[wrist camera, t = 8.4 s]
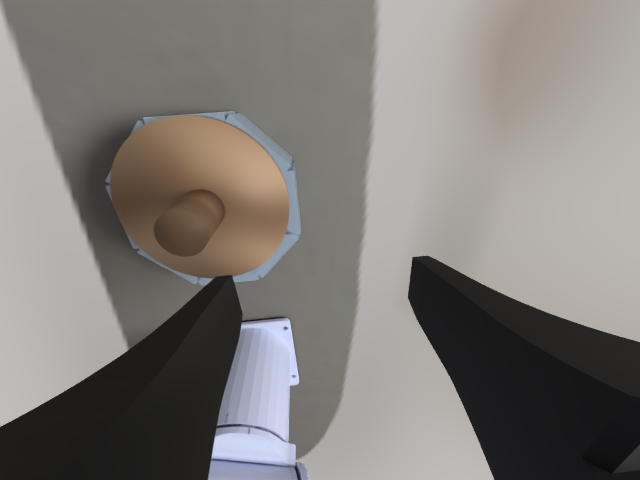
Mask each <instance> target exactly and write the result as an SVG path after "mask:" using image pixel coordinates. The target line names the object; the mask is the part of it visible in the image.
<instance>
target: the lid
mask: <svg viewBox="0 0 640 480" xmlns="http://www.w3.org/2000/svg"><path fill="white" fill-rule="evenodd" d="M110 191H111V197H112V202H113V206H114V209H115V211H116V214H117V216H118V218H119V220H120V222H121V224H122V226H123V228H124V229H125V231H126V232H127V234H128V235H129V236H130V237H131V239H132V240H133V241H134V242H135V243H136V244H137V245H138V246H139V247H140V248H141V249H142V250H143V251H144V252H145V253H147V254H148V255H149V256H150V257H152V258H153V259H155V260H156V261H158V262H159V263H161V264H163V265H165V266H167V267H169V268H171V269H173V270H175V271H178V272H180V273H183V274H187V275H191V276H195V277H201V278H212V279H214V278H215V277H216V276H225V275H232V276H233V277H234V276H238V275H242V274H244V273H247V272H249V271H251V270H253V269H255V268H257V267H259V266H260V265H262V264H263V263H264V262H266V261H267V260H268V259H269V258H270V257H271V256H272V255H273V254H274V253H275V251H276V250H277V249H278V247H279V245H280V244H281V242H282V240H283V238H284V235H285V233H286V230H287V226H288V220H289V195H288V190H287V186H286V183H285V180H284V177H283V175H282V173H281V171H280V169H279V167H278V165H277V164H276V162H275V160H274V159H273V158H272V156H271V155H270V154H269V153H268V151H267V150H266V149H265V148H264V147H263V146H262V145H261V144H260V143H259V142H258V141H257V140H255V139H254V138H253V137H252V136H250V135H249V134H248V133H246V132H244V131H243V130H241V129H239V128H238V127H236V126H234V125H231V124H229V123H227V122H225V121H222V120H218V119H215V118H211V117H205V116H199V115H181V116H173V117H166V118H162V119H159V120H155V121H153V122H150V123H148V124H146V125H144V126H142V127H141V128H139V129H138V130H137V131H135V132H134V133H132V134H131V135H130V136H129V137H128V138H127V139H126V140H125V142H124V143H123V145H122V146H121V147H120V149H119V150H118V152H117V155H116V157H115V159H114V162H113V165H112V169H111V176H110Z"/></svg>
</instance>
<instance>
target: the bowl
mask: <svg viewBox="0 0 640 480" xmlns="http://www.w3.org/2000/svg"><path fill="white" fill-rule="evenodd" d="M184 115H199V116H205V117H211V118H215V119H218V120H222V121H225V122H227V123H229V124H231V125H234V126H236V127H238V128H239V129H241V130H243V131H244V132H246V133H248V134H249V135H250V136H252V137H253V138H254V139H255V140H257V141H258V142H259V143H260V144H261V145H262V146H263V147H264V148H265V149H266V150H267V151H268V153H269V154H270V155H271V156H272V158H273V159H274V160H275V162H276V164H277V165H278V167H279V169H280V171H281V173H282V175H283V177H284V180H285V183H286V186H287V190H288V195H289V220H288V226H287V230H286V233H285V235H284V238H283V240H282V242H281V244H280V245H279V247H278V249H277V250H276V251H275V253H274V254H273V255H272V256H271V257H270V258H269V259H268V260H267V261H266V262H264V263H263V264H262V265H260V266H259V267H257V268H255V269H253V270H251V271H249V272H247V273H244V274H242V275H238V276H234V277H233V280H234V282H241V281H252V280H259V276H260V277H262V278H263V277H264V276H265V275H266V274H267V273H268V271H269V270H270V269H271V268H272V267H273V266H274V265H275V264H276V263H277V262H278V261H279V259H280V258H281V257H282V256H283V255H284V254H285V253H286V252H287V251H288V250H289V249H290V247H291V246H292V245H293V244H294V243H295V242H296V241H297V240H298V239H299V234H301V227H300V210H299V201H298V192H297V182H296V173H295V163H294V161H292V157H291V156H290V155H289V154H288V153H287V152H286V151H284V150H283V149H282V148H281V147H280V146H279V145H277V144H276V143H275V142H274V141H273V140H272V139H270V138H269V137H268V136H267V135H266V134H265V133H263V132H262V131H261V130H260V129H259V128H258V127H256V126H255V125H254V124H253V123H252V122H251V121H249V120H248V119H247V118H246V117H245V116H244V115H242V114H241V113H235V111H226V112H212V113H198V114H184ZM173 116H181V115H170V116H157V117H144V118H143V120H139V121H137V123H136V125H135V127H134V128H133V130H132V132H131V134H132V133H134V132H135V131H137V130H138V129H139V128H141V127H142V126H144V125H146V124H148V123H150V122H153V121H155V120H159V119H162V118H166V117H173ZM131 134H130V135H131ZM110 176H111V171H110V172H109V174H108V176H107V178H106V180H105V181H106V182H107V183H109V185H107V186H105V187H106V190H107V192H108V194H109V196H110V198H111V201H112V197H111V191H110ZM112 203H113V202H112ZM125 232H126V231H125ZM126 234H127V232H126ZM127 236H128V238H129V241H130V243H131V245H132V247H133V249H139V248H140V247H139V246H138V245H137V244H136V243H135V242H134V241H133V240H132V239H131V237H130V236H129V235H128V234H127ZM137 253H138V254H140V255H142V256H144V257H146V258H147V259H149V260H151V261H153V262H155V263H157V264H158V265H160V266H162V267H164V268H166V269H168V270H169V271H171V272H173V273H175V274H177V275H179V276H181V277H182V278H184V279H186V280H188V281H190V282H192V283H193V284H196V283H197V282H198V281H199V284H200V286H201V285H207V284H208V283H209V282H210V281H211V280H213V279H212V278H201V277H195V276H191V275H187V274H183V273H180V272H178V271H175V270H173V269H171V268H169V267H167V266H165V265H163V264H161V263H159V262H158V261H156V260H155V259H153V258H152V257H150V256H149V255H148V254H147V253H145V252H144V251H143V250H142V249H141V248H140V249H139V251H138V252H137Z"/></svg>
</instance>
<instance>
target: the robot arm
mask: <svg viewBox="0 0 640 480" xmlns="http://www.w3.org/2000/svg"><path fill="white" fill-rule="evenodd" d="M408 299H409V301H410V304H411V306H412V309H413V311H414V314H415V316H416V318H417V320H418V322H419V324H420V325H421V327H422V329H423V331H424V333H425V334H426V336H427V338H428V340H429V341H430V343H431V345H432V346H433V348H434V350H435V351H436V353H437V355H438V357H439V358H440V360H441V362H442V363H443V365H444V367H445V369H446V370H447V372H448V374H449V376H450V378H451V380H452V382H453V384H454V386H455V388H456V391H457V393H458V395H459V397H460V399H461V401H462V403H463V406H464V408H465V410H466V412H467V415H468V417H469V419H470V422H471V424H472V426H473V428H474V431H475V433H476V435H477V438H478V440H479V442H480V445H481V448H482V450H483V453H484V455H485V457H486V460H487V462H488V465H489V467H490V470H491V472H492V475H493V477H494V480H640V342H637V341H634V340H630V339H626V338H623V337H619V336H616V335H612V334H609V333H606V332H603V331H599V330H596V329H593V328H590V327H587V326H583V325H581V324H577V323H574V322H572V321H569V320H566V319H563V318H560V317H557V316H555V315H552V314H549V313H546V312H544V311H541V310H539V309H536V308H534V307H531V306H529V305H526V304H524V303H521V302H519V301H517V300H515V299H512V298H510V297H508V296H506V295H504V294H501V293H499V292H497V291H495V290H493V289H491V288H489V287H486V286H485V285H482V284H481V283H479V282H477V281H475V280H473V279H471V278H469V277H467V276H465V275H464V274H462V273H460V272H458V271H456V270H454V269H452V268H451V267H449V266H447V265H445V264H443V263H441V262H439V261H437V260H436V259H433V258H431V257H429V256H420V257H413V259H412V267H411V276H410V284H409V293H408ZM242 316H243V314H242V310H241V306H240V303H239V299H238V295H237V291H236V288H235V284H234V280H233V276H232V275H225V276H216V277H215V278H214V279H213V280H211V281H210V282H209V283H208V284H207V285H206V286H205V287H204V288H203V289H202V290H201V291H199V292H198V293H197V294H196V295H195V296H194V297H193V298H192V299H191V300H190V301H189V302H187V303H186V304H185V305H184V306H183V307H182V308H181V309H180V310H179V311H177V312H176V313H175V314H174V315H173V316H172V317H170V318H169V319H168V320H167V321H166V322H164V323H163V324H162V325H161V326H160V327H158V328H157V329H156V330H155V331H154V332H152V333H151V334H150V335H148V336H147V337H146V338H145V339H143V340H142V341H141V342H139V343H138V344H137V345H135V346H134V347H132V348H131V349H130V350H128V351H127V352H125V353H124V354H123V355H121V356H120V357H118V358H117V359H115V360H114V361H112V362H111V363H109V364H108V365H106V366H105V367H103V368H101V369H100V370H98V371H97V372H95V373H94V374H92V375H91V376H89V377H88V378H86V379H84V380H83V381H81V382H80V383H78V384H76V385H75V386H73V387H71V388H70V389H68V390H66V391H64V392H63V393H61V394H59V395H58V396H56V397H54V398H52V399H51V400H49V401H47V402H45V403H44V404H42V405H40V406H38V407H37V408H35V409H33V410H31V411H29V412H28V413H26V414H24V415H22V416H20V417H18V418H16V419H15V420H13V421H11V422H9V423H7V424H5V425H3V426H1V427H0V480H311V478H310V477H309V475H308V472H307V469H306V468H305V466H304V465H303V464H302V463H300V462H295V445H294V444H290V443H288V436H289V396H290V386H291V385H297V384H298V383H299V376H298V369H297V363H296V357H295V350H294V344H293V338H292V331H291V325H290V320H289V319H287V318H280V319H270V320H261V321H251V322H242ZM285 327H286V328H285Z"/></svg>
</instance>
